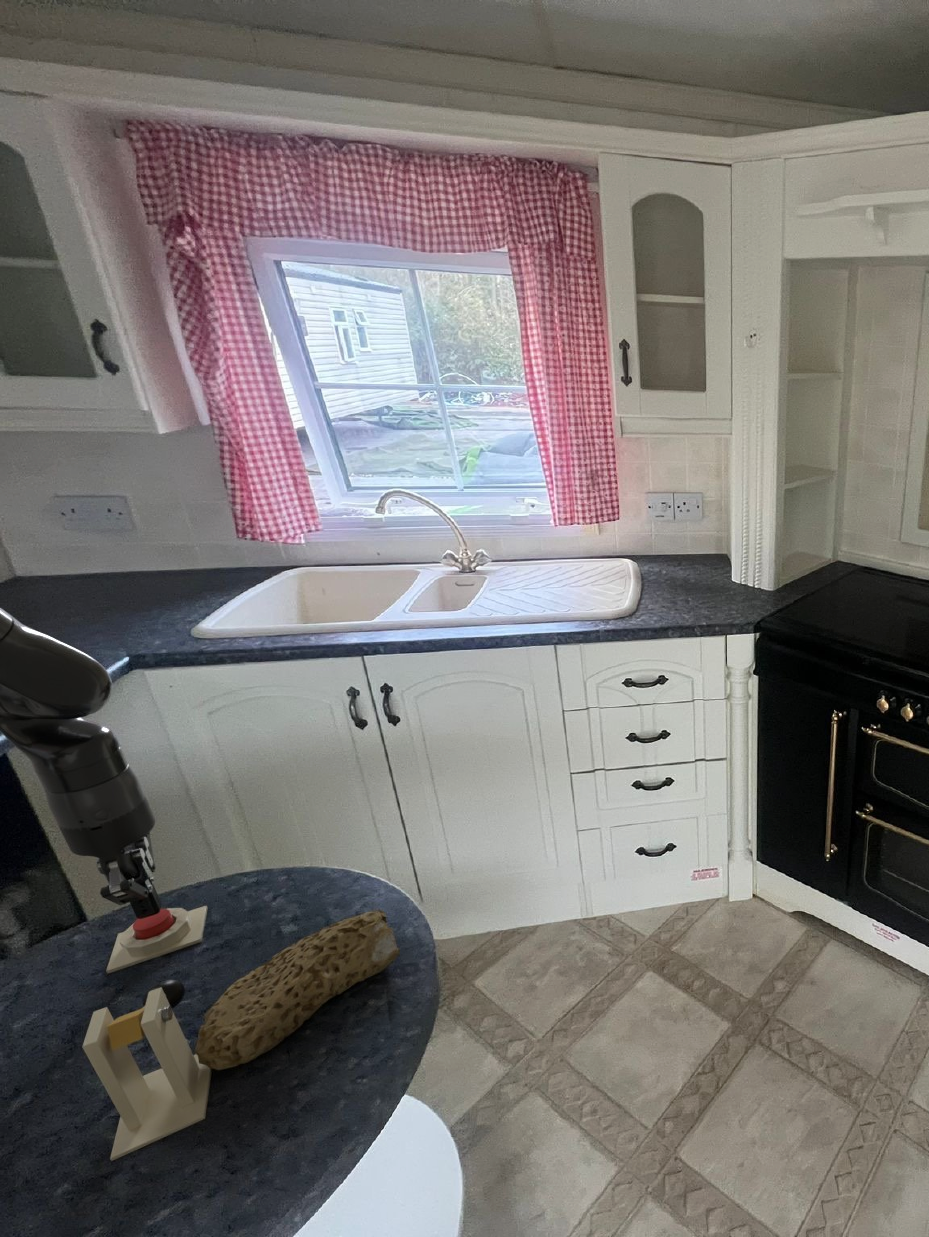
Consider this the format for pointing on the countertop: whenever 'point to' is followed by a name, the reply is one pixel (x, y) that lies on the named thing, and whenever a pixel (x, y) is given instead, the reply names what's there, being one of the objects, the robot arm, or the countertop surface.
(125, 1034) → the lever
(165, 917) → the button
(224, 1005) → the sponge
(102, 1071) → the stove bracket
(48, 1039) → the countertop surface
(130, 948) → the button block
